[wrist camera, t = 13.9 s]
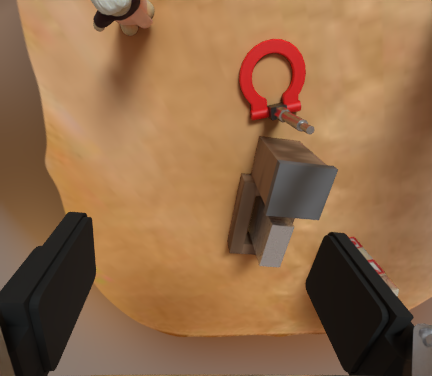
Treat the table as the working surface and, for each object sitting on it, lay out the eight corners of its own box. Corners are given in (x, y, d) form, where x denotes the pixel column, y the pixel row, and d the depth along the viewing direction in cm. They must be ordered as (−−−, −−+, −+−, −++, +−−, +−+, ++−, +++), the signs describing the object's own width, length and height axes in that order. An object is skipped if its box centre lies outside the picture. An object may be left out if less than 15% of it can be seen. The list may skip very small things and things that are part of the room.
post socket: (309, 140, 39) (348, 170, 29) (277, 244, 48) (298, 295, 38) (249, 132, 38) (269, 162, 28) (227, 241, 46) (236, 292, 37)
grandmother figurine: (132, 52, 32) (100, 54, 21) (104, 26, 31) (53, 13, 20) (173, -4, 30) (161, -36, 19) (145, -35, 29) (113, -89, 17)
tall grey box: (275, 193, 43) (294, 227, 35) (264, 229, 46) (279, 267, 38) (257, 191, 42) (272, 225, 34) (247, 227, 46) (259, 265, 38)
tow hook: (234, 47, 33) (244, 121, 37) (255, 37, 21) (267, 147, 25) (300, 33, 33) (304, 109, 37) (358, 16, 21) (354, 129, 25)
